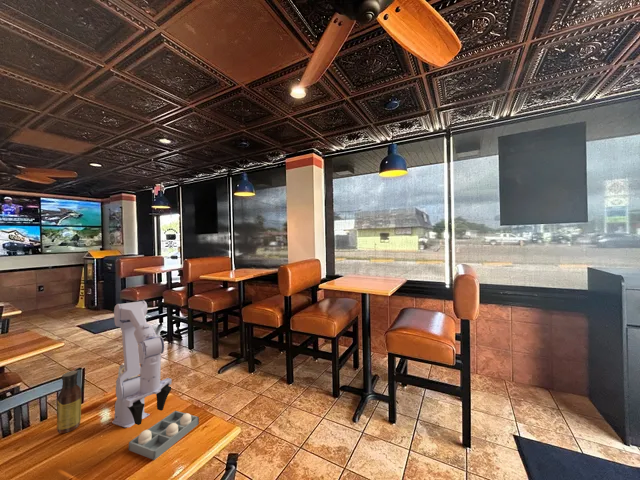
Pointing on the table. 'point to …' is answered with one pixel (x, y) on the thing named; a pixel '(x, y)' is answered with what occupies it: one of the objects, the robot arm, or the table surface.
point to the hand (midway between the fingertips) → (149, 416)
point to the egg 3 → (185, 419)
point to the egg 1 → (144, 437)
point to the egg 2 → (172, 430)
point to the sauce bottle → (69, 403)
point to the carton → (162, 436)
